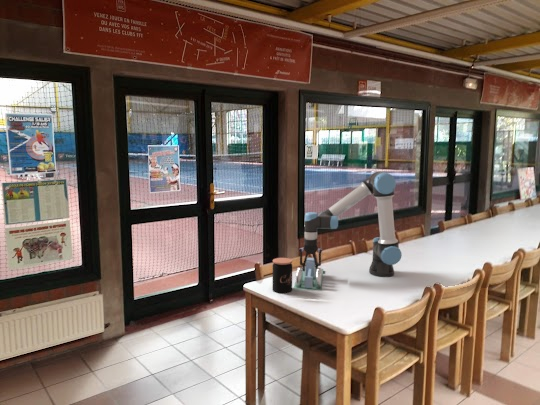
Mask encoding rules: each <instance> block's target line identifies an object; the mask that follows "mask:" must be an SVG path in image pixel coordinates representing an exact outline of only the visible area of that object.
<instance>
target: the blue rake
mask: <svg viewBox="0 0 540 405" xmlns="http://www.w3.org/2000/svg"><path fill="white" fill-rule="evenodd" d="M305 265H306V276H305V288H313V279H314V267H315V266H316V265H315V261H314V257H307V260H306V263H305Z"/></svg>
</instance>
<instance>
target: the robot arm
mask: <svg viewBox="0 0 540 405" xmlns="http://www.w3.org/2000/svg"><path fill="white" fill-rule="evenodd" d="M396 187H397V182H396V179H395V177H394V176H393V175H392V174H390V173H388V172H383V171H376V172H374V173H372V174H370V175H369V176H368V177H366V178H365V179H364V180H362V181H361V184H359V185H358V186H357V187H356V188H355V189H353V190H352V191H350V192H349V193H347V195H345V196H343V197H342V198H341V199H340V200H338V201H337V202H335V203H334V204H332V205H331V206H330V207H328V208H327V209H325V211H321V212H320V213H317V212H315V211H310V212H309V211H308V212H305V214H304V235H303V236H304V239H303V240H304V242H303V247H300V248H299V249H298V251H299V253H300V254H299V265H300V266H302V268H303V271H305V276H306V260H307V258H308V255H312V256H313V257H312V258H314V261H315V267H314V278H316V271H317V268H319V267H320V266H321V265H322V252H323V248H319V247H318V229H319V230H320V229H322V230H336V229H338V227H339V217H340V216H341V215H343V214H344V213H345V212H347V211H348V210H349V209H351V208H352V207H353V206H355V205H356V204H358V203H359V202H361V201H362V200H363V199H365V197H368V196H370V195H373V198H375V199H376V205H377V206H376V207H377V215H378V216H377V217H378V228H379V237H378V236H377V237H374V238H373V240H372V259H371V260H372V261H371V264H370V266H369V270H368V272H369V274H370V275H373V276H376V277H383V278H385V277H387V278H389V277H392V276H394V275H395V269H394V265H396V264H398V263H399V262H400V261H401V259H402V255H403V254H402V251H401V249H400V247H399V239H397V237H396V230H395V220H394V207H393V206H394V205H393V197H395V189H396ZM303 252H305V256H304V259H303ZM317 252H318V259H317V255H316V253H317Z"/></svg>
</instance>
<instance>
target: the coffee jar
mask: <svg viewBox="0 0 540 405" xmlns="http://www.w3.org/2000/svg"><path fill="white" fill-rule="evenodd" d="M272 262H273V263H272V292H274V293H276V294H289V293H291V292H292V291H293V264H292V263H293V259H292V258H288V257H276V258H273V259H272Z"/></svg>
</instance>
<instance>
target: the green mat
mask: <svg viewBox="0 0 540 405" xmlns="http://www.w3.org/2000/svg"><path fill="white" fill-rule="evenodd" d="M321 269H322V283H321V289H316V278H314V279H313V280H314V285H313V288H305V285H304V280H305V271H303V282H302V285H301V288H297V287H296V281H295V283H294V287H293V290H307V291H310V290H311V291H323V279H324V268H321Z"/></svg>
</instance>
